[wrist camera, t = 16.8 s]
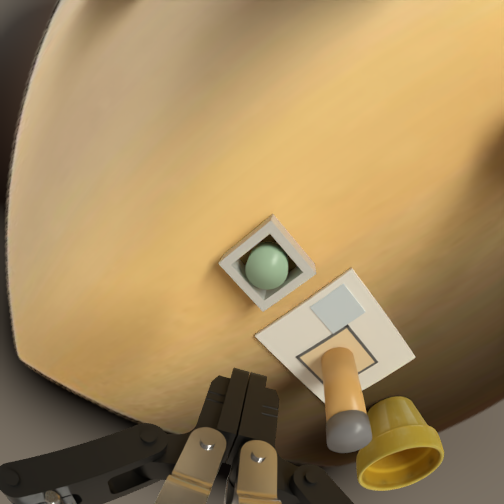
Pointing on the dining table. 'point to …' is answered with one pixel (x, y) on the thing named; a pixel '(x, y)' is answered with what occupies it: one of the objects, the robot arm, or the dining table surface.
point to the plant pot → (397, 447)
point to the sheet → (337, 334)
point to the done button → (267, 265)
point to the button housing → (290, 246)
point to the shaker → (344, 403)
